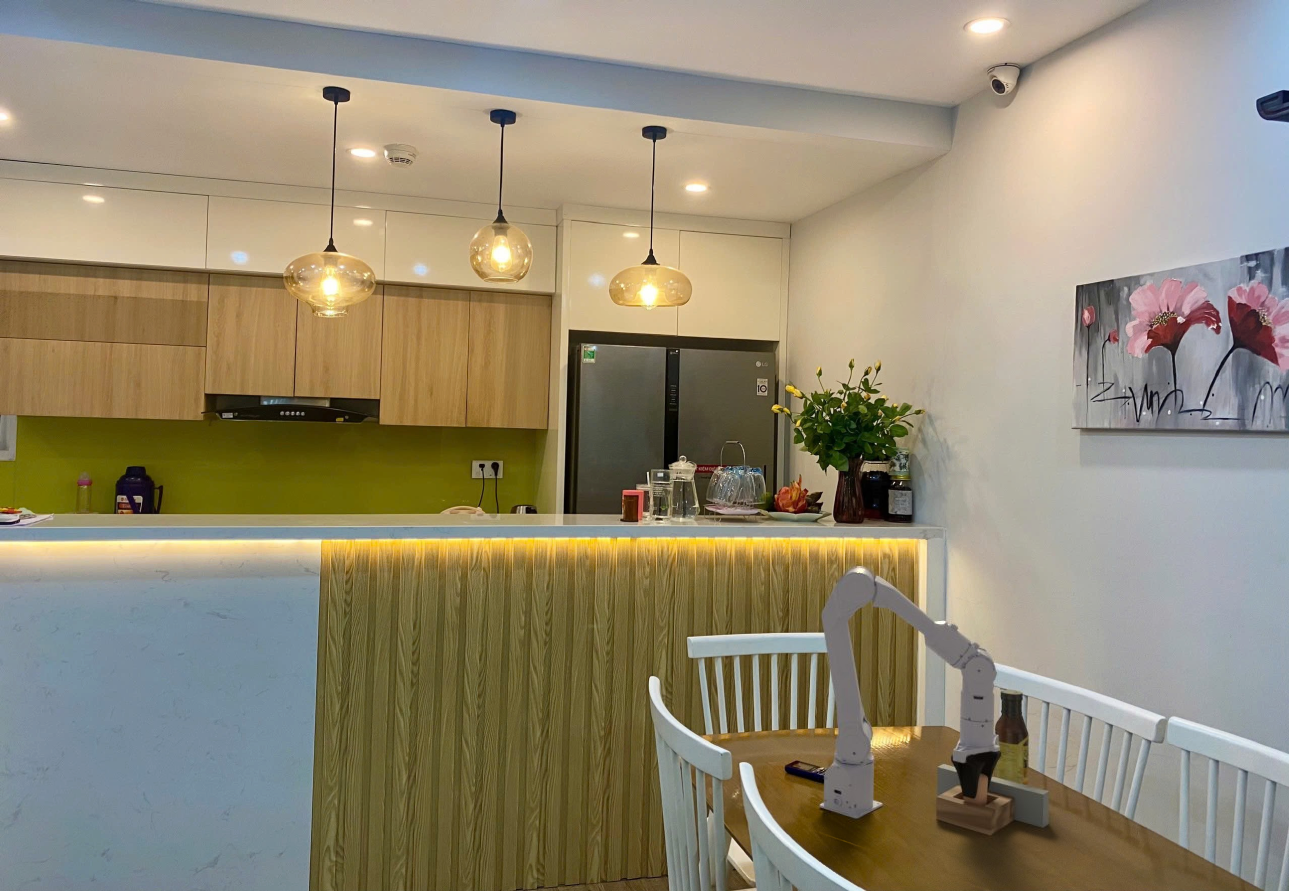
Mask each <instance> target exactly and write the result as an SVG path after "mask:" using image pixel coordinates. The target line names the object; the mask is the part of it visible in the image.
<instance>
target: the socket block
mask: <svg viewBox="0 0 1289 891" xmlns="http://www.w3.org/2000/svg"><path fill="white" fill-rule="evenodd" d="M935 806H936V811H935V813H936V814H935V815H936V816H935V819H936V820H937V821H941V822H944V823H948V824H951V825H954V826H958V827H961V828H964V829H967V830H972V831H974V832H977V833H980V834H984V835H987V836H992V835H994V834H995V833H997V832H998V831H999V830H1001V829H1002V828H1004V827H1006V826H1007V825H1009V824H1010V823H1012V822H1013V821H1015V820H1014V797H1010V796H1006V795H1002V794H999V793H995V792H991V791H987V805H986V806H982V805H979V804H975V803H972V802H968V801H964V800H963V793H962V789H961V785H958V786H956V787H954V788H952V789H950V790H949V791H947V792H945V793H943V794H941V795H939V796H937V795H936V805H935Z"/></svg>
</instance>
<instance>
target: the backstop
mask: <svg viewBox="0 0 1289 891" xmlns="http://www.w3.org/2000/svg"><path fill="white" fill-rule="evenodd" d="M936 774H937V779H936V780H937V782H936V783H937V786H936V787H937V790H936V797H937V796H939V795H941V794H943V793H945V792H947V791H949V790H950V789H952V788H954V787H956V786H958V785H960V781H959V777H958V774H957V771H956V769H955V767H954V765H953V766H952V765H949V764H946V763H942V764H941V765H938V766H937V773H936ZM988 791H991V792H995V793H999V794H1002V795H1006V796H1010V797H1014V820H1013V821H1019V822H1022V823H1024V824H1028V825H1031V826H1036V827H1039V828H1042V829H1043V828H1045V827H1047V826H1048V825H1049V816H1050V815H1049V810H1050V809H1049V808H1050V807H1049V806H1050V805H1049V804H1050V798H1049V797H1050V791H1049V790H1045V789H1042V788H1039V787H1035V786H1030V785H1028V786H1027V785H1023V784H1019V783H1015V782H1012V781H1008V780H1004V779H1000V778H996V777H994V776H992V778H991V782H990V786H989V789H988Z"/></svg>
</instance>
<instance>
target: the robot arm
mask: <svg viewBox="0 0 1289 891" xmlns="http://www.w3.org/2000/svg"><path fill="white" fill-rule="evenodd" d="M871 601H873V602H872V605H871V607H873V608H883V609H889V610H890V611H892V612H893V613H894V614H896V615H897V616H898V617H900V618H901V619H902V620H904V621H905V622H906V623H908V624H909V625H910V626H912V627H913V628H914V629H916V630H917V631H918V632H919V633H921V634H922V635H923V636H924V644H925V646H926V647H927V648H928V649H929V650H931V651H933V653H935V654H936V655H937V656H938V657H940V658H941V659H942V660H943V661H944V662H946V663H947V664H948V665H950V666H951V667H952V668H953V669H958V670H960V673H961V676H962V688H961V690H960V710H959V711H960V712H959V713H960V719H959V720H960V722H959V740H958V741H957V744H956V746H955V748H953V750H952V754H951V755H950V761H951V764H952V765H953V767H955V769H956V771H957V774H958V777H959V781H960V785H961V789H962V793H963V796H965V797H968V798H972V799H975V798H976V795H977V789H978V782H979V777H980V773H981V774H984V775H986V776H987V777H988V787H987V791H988V789H989V786H990V782H991V778H992V777H993V774H994V768H995V766H996V764H997V762H998V760H999V758H1000V757H1001V751H999V750H1000V746H998V745H999V735H995V693H994V689H995V683H994V682H995V680H996V678H997V675H998V672H997V670H996V665H995V662H994V659H993V658H992V655H990V654H989V653H988V652H987V650H986V648H983V647H981V645H980V644H979V643H978V642H977V641H974V642H973V641H971V640H970V639H969V638H967V637H966V636H965V635H964V634H962V633H961V632H960V631H958V629H959V627H958V626H957V624H956V623H954V622H951V623H948V621H946V620H940V621H937V620H934V619H932V618H931V617H930V616H929V615H928V614H926V612H924V611H923V610H922V609H921V608H920V607H918V605H916V604H915V603H914V602H913V601H912V600H910V599H909V598H908V597H907V596H905V595H904V593H902V592H901V591H900V590H899V589H898V588H896V587H895V586H894V585H892V584H891V583H890V582H888V581H887V580H885V579H884V578H883V577H881V576H879V575H876V576H875V574H874V573H873V572H872V570H870V569H869V568H867V567H864V566H861V565H860V566H854V567H853V566H852V567H851V568H850V569H848V570H847V571H846V572H845V573H844V574H842V576H841V577H840V578H839V579H838V580H837V582H836V583H835V585H834V587H833V589H832V591H831V594H830V595H829V597H828V599H827V602H826V603H825V605H824V608H823V609H822V612H821V621H822V628H823V634H824V640H825V645H826V653H827V657H828V666H829V669H830V670H829V671H830V676H831V682H832V688H833V694H834V695H833V696H834V700H835V705H836V706H835V707H836V722H837V732H838V733H837V736H836V739H835V751H834V755H833V756H834V757H833V762H832V764H831V765H830V766H828V767H827V769H826V770H825V771H824V776H823V780H824V782H823V802H822V803H820V804H819V808H821V809H823V810H824V809H825V810H827V811H831V812H834V813H837V814H840V815H843V816H847V817H850V818H852V819H859V818H861V817H863V816H865V815H867V814H869V813H871V812H873V811H875V810H877V809H879V808H881V807H883V803H882V802H879V801H878V800H874V779H875V776H874V775H875V773H874V772H875V771H874V770H875V756H874V755H873V754H872V752H871V750H872V741H873V736H874V732H873V731H874V730H873V727H872V725H871V724H870V722H869V721H868V720H867V717H866V714H865V709H864V706H863V703H862V699H861V698H862V697H861V692H860V686H859V685H860V684H859V681H858V674H857V668H856V663H855V656H854V650H853V644H852V640H851V632H850V627H849V626H850V625H849V620H850V619H851V618H852V617H853V615H854V614H855V613H856V612H857V610H859V609H860V608H863V607H864V606H866V605H868V604H869V603H870V602H871Z"/></svg>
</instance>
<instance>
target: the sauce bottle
mask: <svg viewBox="0 0 1289 891" xmlns="http://www.w3.org/2000/svg"><path fill="white" fill-rule="evenodd" d="M1023 699H1024V695H1023V692H1022V691H1019V690H1015V689H1014V690H1013V689H1002V690H1000V700H1001V710H1000V712H1001V715H1000V717H999V718H998V720H997V721H996V722H995V724H994V734H995V735H999V745H998V746H1000V750H999V751H1001V757H1000V758H999V760H998V762H997V764H996V766H995V768H994V771H993V774H994V775H993V777H996V778H1000V779H1004V780H1008V781H1012V782H1015V783H1019V784H1023V785H1027V786H1029V765H1030V764H1029V761H1030V760H1029V756H1030V754H1029V750H1030V748H1029V741H1030V740H1029V739H1030V738H1029V736H1030V734H1029V732H1028V729H1027V725H1026V723H1025V719H1024V717H1023V711H1022V710H1023V707H1022V705H1023V704H1022V703H1023Z"/></svg>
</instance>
